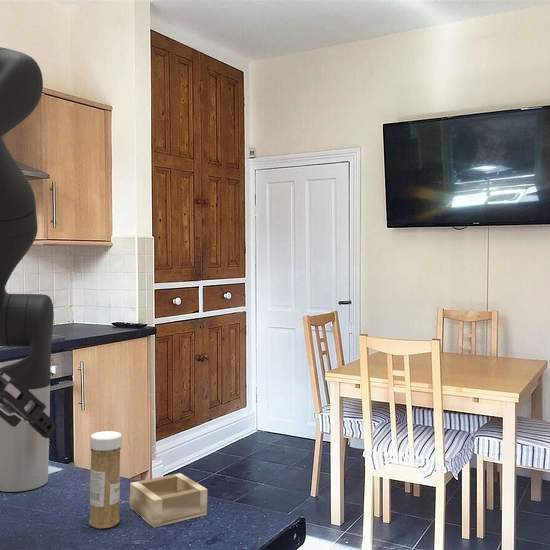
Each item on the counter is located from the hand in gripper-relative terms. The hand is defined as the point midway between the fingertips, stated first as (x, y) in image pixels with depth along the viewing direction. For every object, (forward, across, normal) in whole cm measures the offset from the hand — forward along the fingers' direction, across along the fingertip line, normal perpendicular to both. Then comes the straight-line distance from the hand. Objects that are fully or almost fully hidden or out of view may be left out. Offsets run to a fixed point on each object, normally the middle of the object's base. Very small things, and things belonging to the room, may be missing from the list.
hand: (34, 426), depth 84 cm
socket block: (+27, -3, -3) cm, 27 cm away
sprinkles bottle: (+20, 0, +4) cm, 20 cm away
